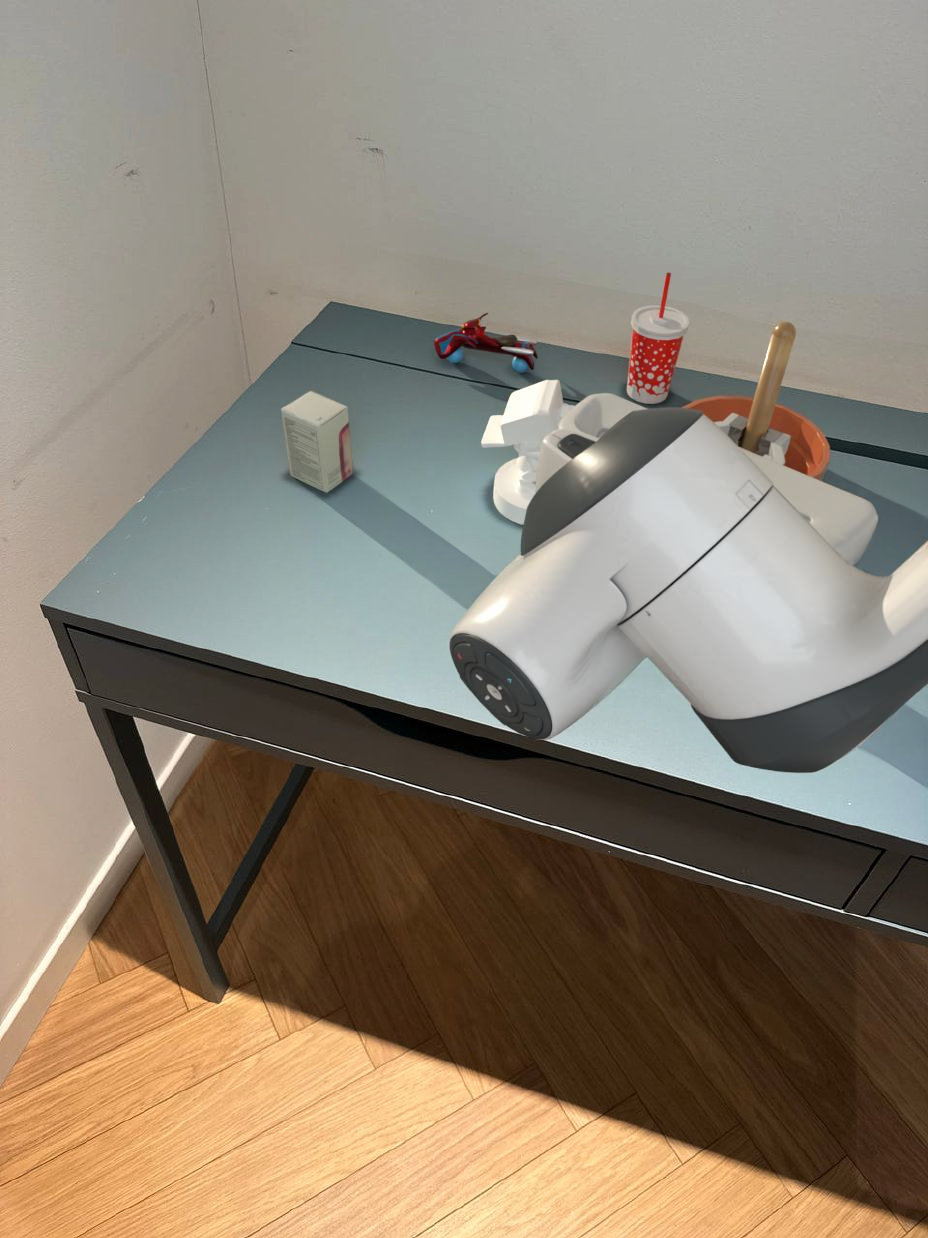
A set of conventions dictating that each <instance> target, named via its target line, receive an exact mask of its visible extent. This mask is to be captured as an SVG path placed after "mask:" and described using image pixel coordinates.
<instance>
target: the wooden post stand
mask: <svg viewBox="0 0 928 1238" xmlns="http://www.w3.org/2000/svg"><path fill="white" fill-rule="evenodd" d="M796 335H797V330H796V327H795V325H794V324H793V323H792V322H789V321H781V322H778V323H777V324H776V325H775V326H774V327H773V328H772V330H771V335H770V339H769V342H768V346H767V349H766V353H765V355H764V356H765V358H764V360H763V364H762V368H761V371H760V375H759V378H758V383H757V384H756V385H757V386H756V389H755V393H754V396H753V398H754V400H753V404H752V407H751V411H750V415H749V418H748V422H747V426H746V429H745V433H744V436H743V440H742V444H741V447H740V448H743V449H745V450H748V451H750V452H752V453H755V454H756V451H757V450H758V449H759V447H758V444H759V440H760V437H761V436H762V435H763V434H764V433H767V431H768V428H769V424H770V421H771V417H772V414H773V411H774V407H775V404H776V403H777V401H778V397H779V393H780V390H781V388H782V387H781V386H782V384H783V380H784V377H785V373H786V369H787V366H788V363H789V359H790V356H791V353H792V349H793V346H794V342H795V339H796Z"/></svg>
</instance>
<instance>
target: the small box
mask: <svg viewBox="0 0 928 1238" xmlns="http://www.w3.org/2000/svg"><path fill="white" fill-rule="evenodd" d="M280 411H281V418H282V424H283V429H284V430H283V432H284V438H285V446H286V452H287V460H288V467H289V474H290V476H291V477H292V478H295V479H297V480H299V481H301V482H302V483H305V484H306V485H309V486H311V487H313V488H314V489H317V490H319V491H321V492H322V493H325V494H328V493H329V492H330V491H332V490H333V489H335V488H336V487H337V486H339V485H340V484H341V483H343V482H344V481H345V480H346V479H347V478H349V477H350V476H352V475H353V474H354V464H353V453H352V443H351V430H350V420H349V408H348V406H346V405H344V404H342V403H340V402H337V401H336V400H333V399H331V398H328V397H327V396H325V395H322V394H319V393H317V392H315V391H312V390H310V391H308V392H306V393H304V394H302V395H301V396H300V397H298V398H296V399H295V400H293V401H291V402H290V403H288V404H287V405H285V406H283V407H281V408H280Z"/></svg>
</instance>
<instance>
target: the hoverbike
mask: <svg viewBox="0 0 928 1238" xmlns="http://www.w3.org/2000/svg"><path fill="white" fill-rule="evenodd" d="M487 315H489V312H485V313H483V314H482V315H480V316H479V317H477V318H474V319H473V318H472V319H470V320H467V321H465V322H463V323H462V325H461V328H455V329H452V330H450V331H448V332H445V333H443V334H440V335H438V336H436V337H435V338H434V340H433V345H434V348H435V352H436V354H437V356H438V358H439V359H441V360H445V359H446V360H447V362H450V363H451V364H457V363H460V362H461V361H462V360H463V358H464V355H465V354H464V349H468V350H473V351H481V352H488V353H492V354H500V355H507V356H512V357H513V358H512V361H511V366H512V369H513V370H514V371H515V372H517V373H518V374H523V373H525V372H527V371H528V370H531V371H533V370H534V369H535V361H534V359H533V357H534V358H535V360H538V358H539V357H538V353H537V351H536V349H535V347H534V346H537V345H538V340H537V339H533V338H528V337H522V336H516V335H515V334H508V335H503V336H497V337H490V336H489V335H488V334H486V333H485V331H486V329H487V326H482V322H481V321H482V318H484V317H485V316H487ZM463 348H464V349H463ZM532 356H533V357H532Z"/></svg>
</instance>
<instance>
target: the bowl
mask: <svg viewBox="0 0 928 1238" xmlns="http://www.w3.org/2000/svg"><path fill="white" fill-rule="evenodd" d="M753 400H754V396H753V397H751V396H745V395H715V396H714V395H713V396H709V397H704V398H700V399H696V400H694V401H692V402H690V403H688V404H686V405H684V406H682V407H680V408H689V409H695V410H699V411H703V414H704V415H706V416H707V417H708V418H709V419H710V420H712V421H713V422H718V421H721V422H723V421H724V420H725V419H726V418H727V417H728V416H729V415H730V414H731V413H735V414H738V415H740V416H742V417H745V418H747V419H748V418H749V415H750V411H751V407H752V404H753ZM769 428H771V429H774V430H776V431H779V432H782V433H785V434H787V435H790V436H791V439H790V442H789V445H788V449H787V452H786V454H785V456H784V458H785V465H784V466H786V467H788V468H791V469H793V470H796V471H798V472H800V473H803V474H805V475H808V476H810V477H812V478H815V479H817V480H820V481H822V482H824V481H823V480H824V478H825V475H826V472H827V469H828V467H829V465H830V461H831V446H830V444H829V441H828V439H827V438H826V435H825V434H824V432H823V430H821V428H819V427H818V425H816V424H815V423H814V422H813V421H811V419H809V418H808V416H805V415H803V414H801V413H799V412H798V411H796V410H794V409H792V408H790V407H788V406H786V405H783V404H780V403H777V402H776V404H775V407H774V411H773V414H772V417H771V421H770V424H769ZM769 428H768V429H769Z"/></svg>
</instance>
